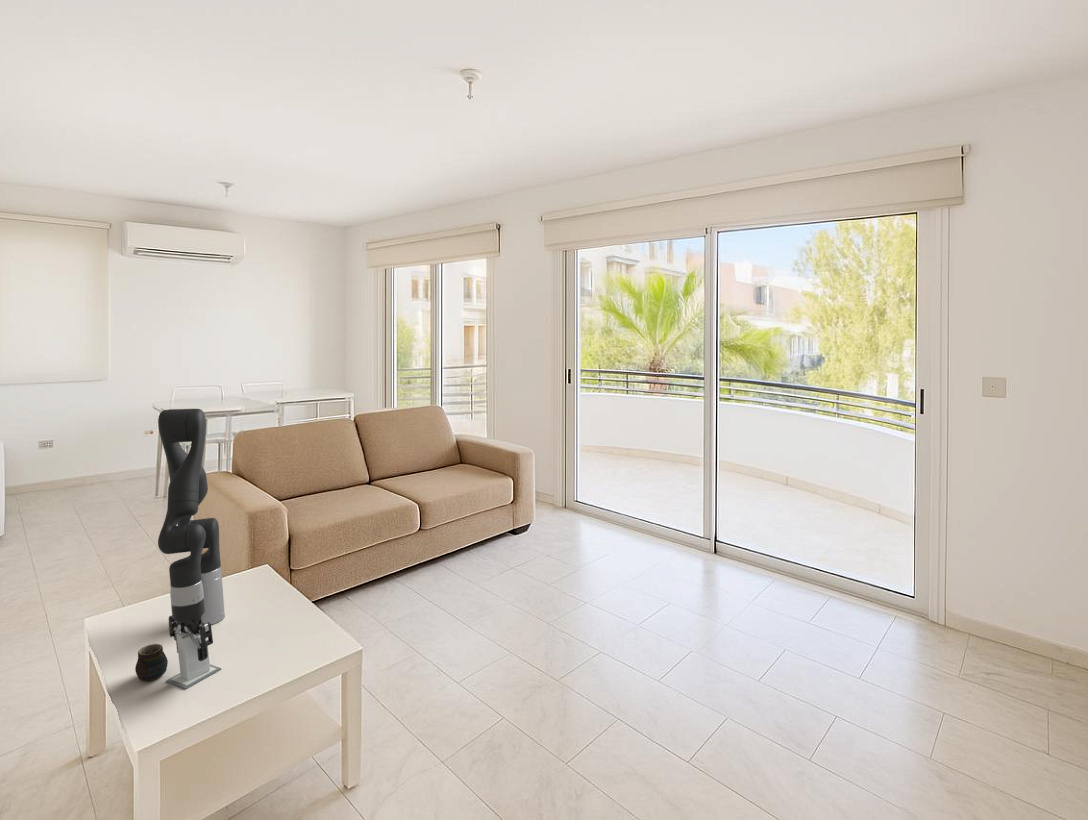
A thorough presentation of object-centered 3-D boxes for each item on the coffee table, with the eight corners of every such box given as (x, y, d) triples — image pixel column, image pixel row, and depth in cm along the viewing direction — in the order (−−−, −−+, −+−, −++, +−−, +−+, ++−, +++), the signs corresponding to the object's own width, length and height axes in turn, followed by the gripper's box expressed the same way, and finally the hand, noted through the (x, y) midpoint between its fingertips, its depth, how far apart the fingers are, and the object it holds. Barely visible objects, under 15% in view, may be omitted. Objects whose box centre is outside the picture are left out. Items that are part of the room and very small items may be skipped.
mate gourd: (163, 665, 165) (160, 632, 164) (173, 676, 160) (170, 641, 159) (132, 677, 160) (129, 642, 158) (142, 688, 155) (139, 652, 153)
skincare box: (203, 665, 164) (199, 624, 162) (211, 671, 162) (207, 629, 160) (179, 676, 159) (175, 633, 157) (187, 682, 157) (183, 638, 155)
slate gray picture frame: (166, 681, 157) (166, 679, 157) (201, 662, 166) (201, 661, 166) (186, 689, 154) (185, 687, 154) (221, 669, 163) (221, 667, 163)
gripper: (156, 599, 157) (161, 656, 159) (191, 609, 151) (196, 669, 153) (183, 588, 164) (188, 643, 166) (218, 597, 158) (223, 655, 160)
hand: (192, 655), depth 160 cm, fingers open, 8 cm apart
